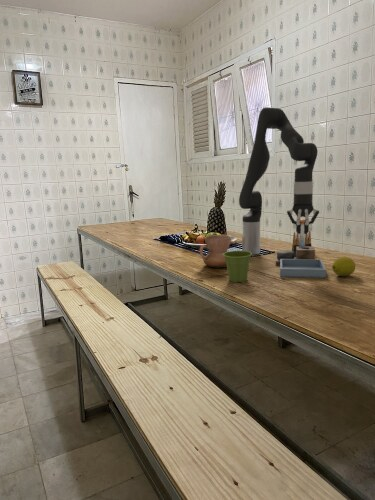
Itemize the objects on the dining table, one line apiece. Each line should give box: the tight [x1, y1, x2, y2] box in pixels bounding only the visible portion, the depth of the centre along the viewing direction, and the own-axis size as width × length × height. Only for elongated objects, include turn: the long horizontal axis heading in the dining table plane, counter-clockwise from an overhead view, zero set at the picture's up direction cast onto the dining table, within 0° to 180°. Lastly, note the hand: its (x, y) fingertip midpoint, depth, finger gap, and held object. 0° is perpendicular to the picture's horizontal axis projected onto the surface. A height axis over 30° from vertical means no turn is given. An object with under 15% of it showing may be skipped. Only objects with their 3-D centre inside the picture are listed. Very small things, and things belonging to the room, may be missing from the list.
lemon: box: [331, 256, 356, 277], centre depth 156 cm, size 11×8×8 cm
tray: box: [279, 258, 327, 279], centre depth 166 cm, size 18×18×4 cm
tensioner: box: [275, 246, 316, 266], centre depth 181 cm, size 18×12×7 cm, turn 77°
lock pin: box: [299, 218, 306, 248], centre depth 163 cm, size 3×3×12 cm
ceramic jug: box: [199, 234, 236, 269], centre depth 181 cm, size 18×14×14 cm
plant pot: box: [223, 250, 253, 283], centre depth 156 cm, size 12×12×11 cm
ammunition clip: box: [291, 229, 312, 254], centre depth 199 cm, size 11×2×12 cm, turn 105°
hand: (302, 233), depth 163 cm, fingers closed on lock pin, 2 cm apart
